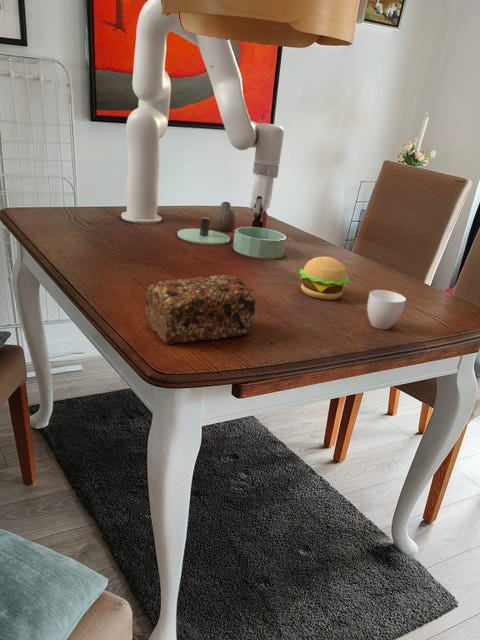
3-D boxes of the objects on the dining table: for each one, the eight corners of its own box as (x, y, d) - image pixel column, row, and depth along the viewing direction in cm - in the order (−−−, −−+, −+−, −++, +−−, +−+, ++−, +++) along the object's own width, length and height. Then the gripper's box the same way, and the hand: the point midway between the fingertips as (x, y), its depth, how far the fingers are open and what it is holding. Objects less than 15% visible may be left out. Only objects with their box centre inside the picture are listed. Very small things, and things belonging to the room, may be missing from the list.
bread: (228, 317, 120) (233, 269, 115) (254, 337, 112) (261, 287, 107) (142, 324, 111) (144, 273, 106) (164, 346, 103) (167, 292, 98)
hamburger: (355, 300, 140) (363, 264, 136) (317, 304, 134) (324, 267, 130) (324, 284, 149) (330, 250, 144) (286, 287, 143) (292, 251, 138)
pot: (239, 243, 175) (241, 224, 172) (286, 251, 173) (289, 232, 170) (227, 254, 162) (230, 234, 159) (278, 263, 160) (282, 243, 158)
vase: (211, 232, 182) (214, 203, 177) (213, 227, 188) (216, 198, 183) (233, 235, 182) (236, 206, 178) (234, 230, 188) (237, 201, 184)
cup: (374, 332, 123) (382, 302, 119) (351, 315, 130) (357, 286, 127) (404, 332, 125) (413, 302, 122) (380, 315, 133) (387, 286, 130)
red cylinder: (252, 233, 186) (254, 210, 182) (265, 235, 185) (268, 212, 181) (249, 235, 182) (252, 212, 178) (263, 238, 181) (266, 214, 178)
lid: (185, 229, 181) (187, 209, 178) (235, 238, 179) (237, 217, 176) (169, 240, 167) (171, 218, 164) (222, 250, 165) (225, 227, 162)
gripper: (258, 165, 181) (251, 225, 191) (247, 171, 167) (240, 236, 176) (282, 169, 180) (273, 229, 190) (273, 175, 166) (264, 240, 175)
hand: (257, 232), depth 183 cm, fingers closed on red cylinder, 4 cm apart
